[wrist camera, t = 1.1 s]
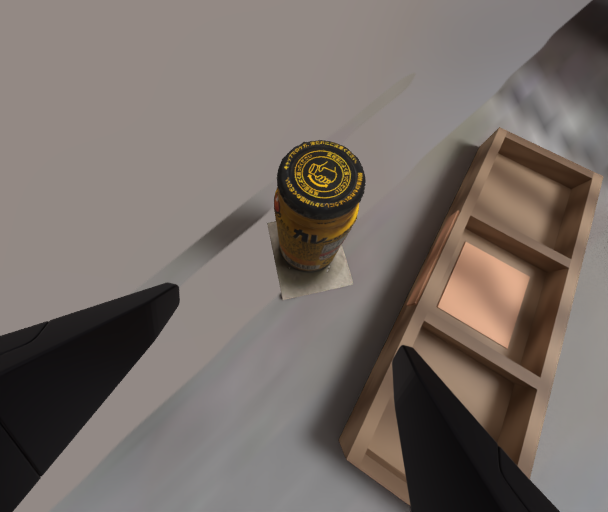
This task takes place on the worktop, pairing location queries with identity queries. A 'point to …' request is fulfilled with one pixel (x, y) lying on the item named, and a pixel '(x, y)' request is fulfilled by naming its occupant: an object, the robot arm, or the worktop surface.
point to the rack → (488, 304)
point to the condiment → (315, 217)
